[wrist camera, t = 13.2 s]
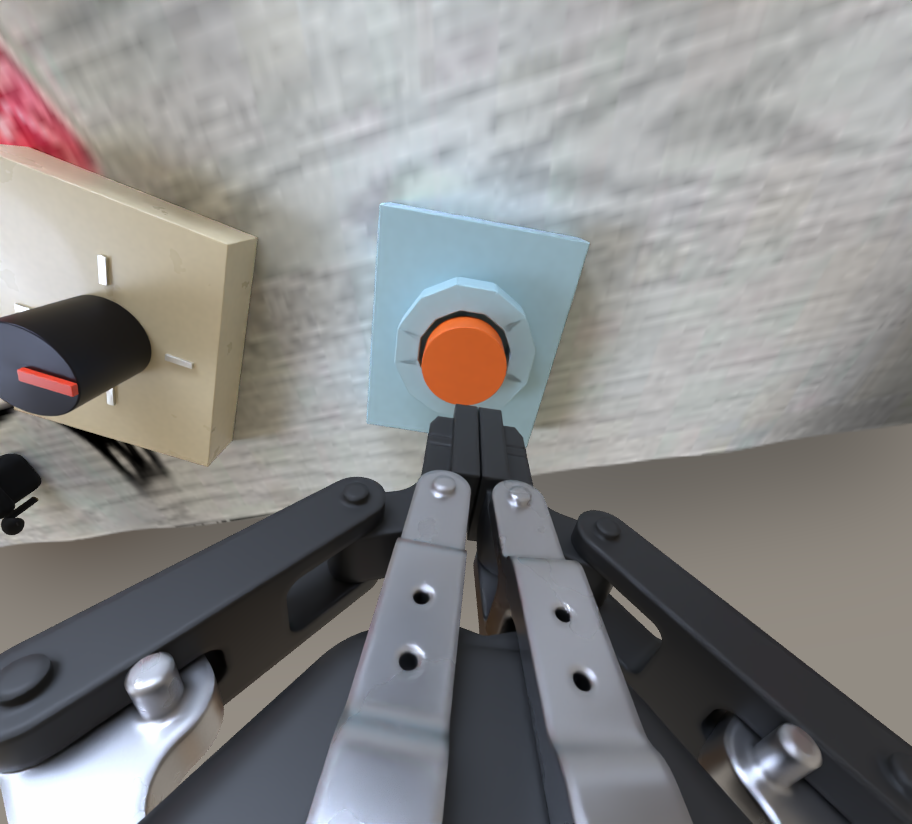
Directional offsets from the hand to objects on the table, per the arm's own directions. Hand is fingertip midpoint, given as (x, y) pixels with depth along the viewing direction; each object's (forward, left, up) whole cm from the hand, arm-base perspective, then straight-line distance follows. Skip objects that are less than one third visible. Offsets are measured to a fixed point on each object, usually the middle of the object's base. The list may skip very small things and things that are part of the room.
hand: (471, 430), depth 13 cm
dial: (+3, -19, -8) cm, 21 cm away
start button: (0, 0, -8) cm, 8 cm away
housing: (0, 0, -11) cm, 11 cm away
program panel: (+3, -19, -11) cm, 22 cm away
